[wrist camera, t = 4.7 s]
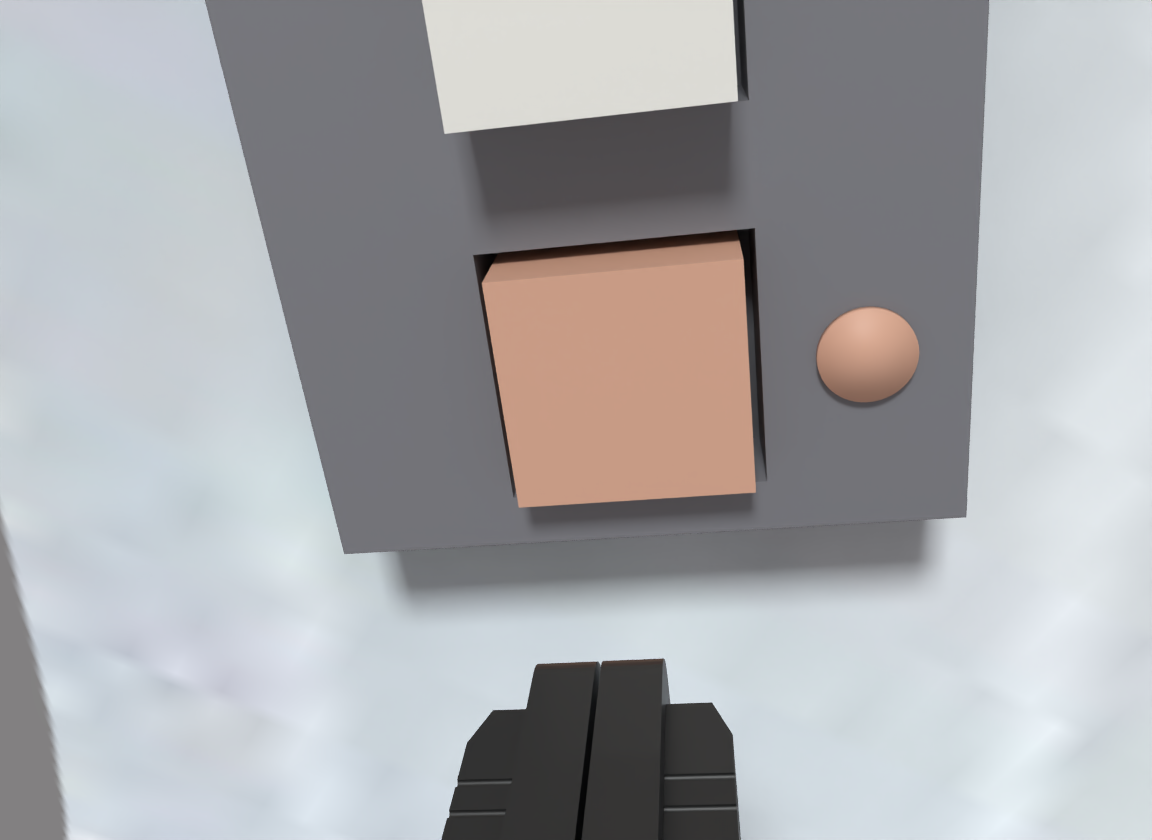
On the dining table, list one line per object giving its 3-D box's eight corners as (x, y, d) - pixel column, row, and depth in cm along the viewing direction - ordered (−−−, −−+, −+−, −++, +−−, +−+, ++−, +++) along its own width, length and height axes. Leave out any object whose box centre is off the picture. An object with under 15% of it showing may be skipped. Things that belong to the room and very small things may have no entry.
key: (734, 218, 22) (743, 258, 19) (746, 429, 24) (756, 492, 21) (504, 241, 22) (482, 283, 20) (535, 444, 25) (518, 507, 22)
